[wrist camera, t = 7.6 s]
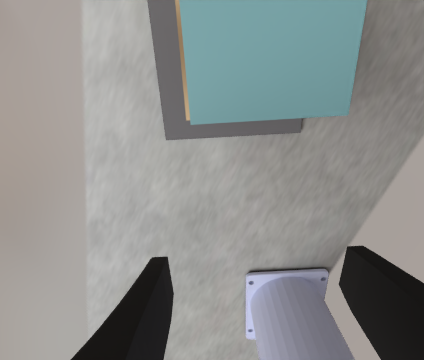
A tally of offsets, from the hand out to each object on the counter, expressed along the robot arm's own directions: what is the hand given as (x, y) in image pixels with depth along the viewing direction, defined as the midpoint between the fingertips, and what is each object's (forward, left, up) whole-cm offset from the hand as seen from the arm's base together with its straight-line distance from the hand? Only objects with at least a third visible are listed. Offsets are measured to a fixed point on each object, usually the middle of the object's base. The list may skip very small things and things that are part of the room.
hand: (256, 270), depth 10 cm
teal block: (+8, 0, -4) cm, 9 cm away
